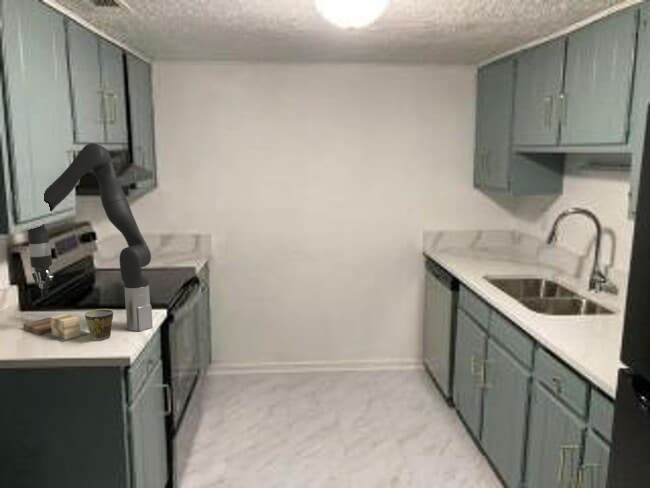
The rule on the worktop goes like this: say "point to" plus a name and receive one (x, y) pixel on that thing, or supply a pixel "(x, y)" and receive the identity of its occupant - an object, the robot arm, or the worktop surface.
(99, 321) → the ceramic cup
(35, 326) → the brown flat slab
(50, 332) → the mat
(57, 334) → the block
